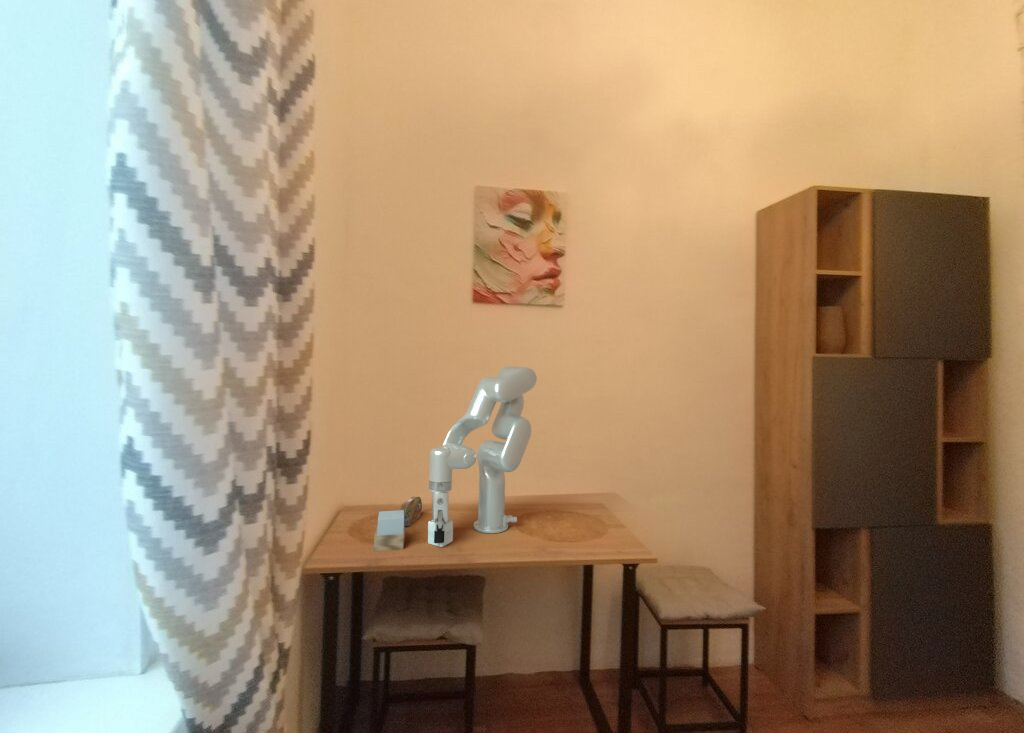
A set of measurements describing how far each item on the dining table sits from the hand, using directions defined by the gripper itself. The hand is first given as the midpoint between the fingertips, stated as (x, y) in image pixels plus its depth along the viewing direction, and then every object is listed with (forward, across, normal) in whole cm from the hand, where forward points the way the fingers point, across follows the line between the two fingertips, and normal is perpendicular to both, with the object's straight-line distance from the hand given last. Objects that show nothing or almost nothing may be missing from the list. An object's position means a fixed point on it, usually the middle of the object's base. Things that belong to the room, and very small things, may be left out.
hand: (438, 537), depth 148 cm
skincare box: (+2, 0, -1) cm, 2 cm away
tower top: (-3, 0, +16) cm, 16 cm away
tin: (+2, +20, +10) cm, 23 cm away
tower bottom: (+2, 0, +16) cm, 16 cm away
